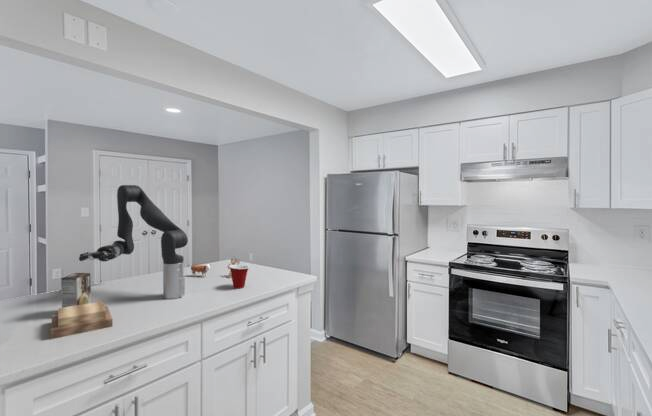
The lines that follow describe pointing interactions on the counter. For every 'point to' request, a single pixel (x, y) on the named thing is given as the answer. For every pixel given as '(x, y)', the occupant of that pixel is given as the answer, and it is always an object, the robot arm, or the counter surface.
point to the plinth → (79, 326)
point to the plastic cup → (238, 275)
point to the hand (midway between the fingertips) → (90, 258)
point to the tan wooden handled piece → (229, 267)
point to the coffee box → (76, 289)
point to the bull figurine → (200, 269)
